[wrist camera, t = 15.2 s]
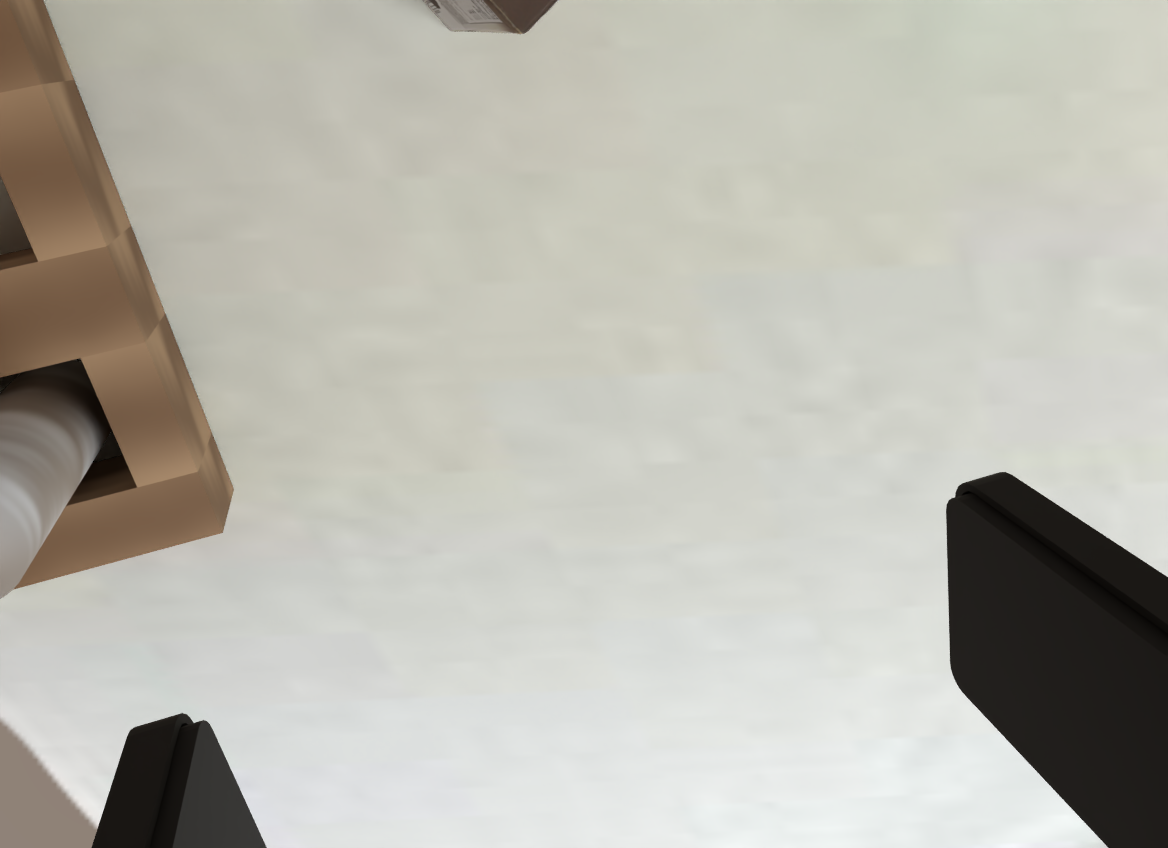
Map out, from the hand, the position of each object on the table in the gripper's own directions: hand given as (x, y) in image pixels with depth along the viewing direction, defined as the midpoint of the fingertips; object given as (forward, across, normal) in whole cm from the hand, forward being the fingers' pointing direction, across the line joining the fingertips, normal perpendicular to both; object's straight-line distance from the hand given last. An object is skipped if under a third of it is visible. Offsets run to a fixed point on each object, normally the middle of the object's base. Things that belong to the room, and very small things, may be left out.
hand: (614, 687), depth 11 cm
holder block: (+30, +16, -1) cm, 34 cm away
